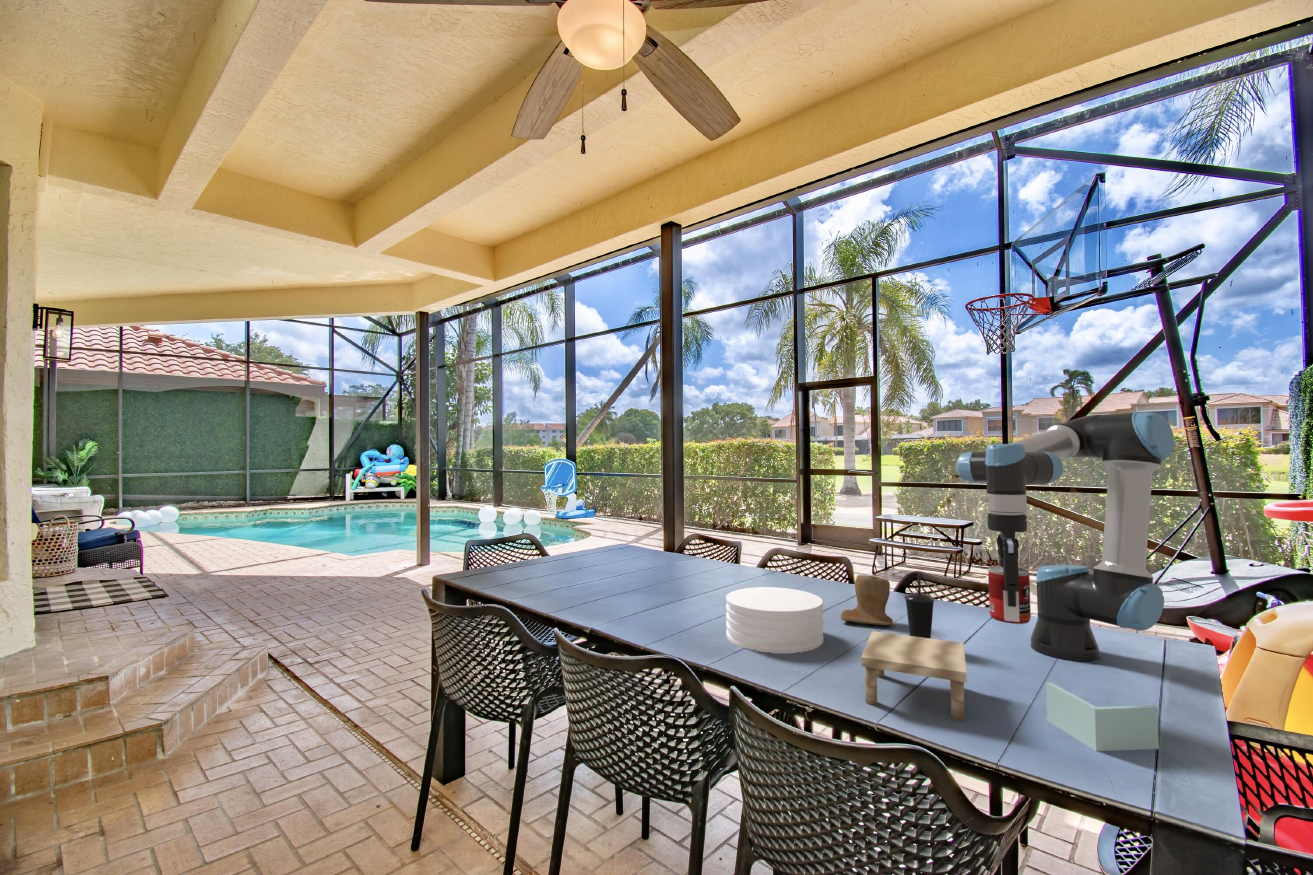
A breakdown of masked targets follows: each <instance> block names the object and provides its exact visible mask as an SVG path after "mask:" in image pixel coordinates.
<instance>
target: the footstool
mask: <svg viewBox="0 0 1313 875" xmlns="http://www.w3.org/2000/svg"><path fill="white" fill-rule="evenodd" d="M964 644H965V643H964V642H960V641H951V640H946V639H945V640H944V639H938V638H937V639H936V638H931V639H930V638H922V637H914V636H910V635H906V634H897V633H889V632H883V631H874V630H872V631H871V632H870V635H869V637H868V639H867V642H866V645H865V647H864V649H863V653H862V655H861V667H864V677H865V678H864V680H865V681H864V687H865V689H864V690H865V693H864V695H865V703H866V704H868V705H872V706H874V705H877V704H878V678H884V677H885V671H888V672H894V673H901V674H908V675H915V676H921V677H927V678H934V679H940V680H948V681H949V687H950V717H951V719H952V720H955V721H964V720H965V683H968V679H967V678H968V677H967V676H968V675H967V674H968V673H967V666H966V665H967V664H966V654H965V646H964Z"/></svg>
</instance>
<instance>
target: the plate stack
mask: <svg viewBox="0 0 1313 875" xmlns="http://www.w3.org/2000/svg"><path fill="white" fill-rule="evenodd" d="M725 602H726V604H725V611H726V613H725V619H726V622H725V625H726V626H725V628H726V631H725V636H726V638H727V640H728V641H729V642H730V643H732V644H734V645H736V646H738V647H741V648H744V649H747V650H751V651H754V650H755V651H756V652H761V653H767V652H771V653H770V654H797V652H800V653H805V652H804V651H806V652H809V650H810V651H812V650H816V649H818V648H820V647H821V646H822V645H823V644H822V643H824V618H823V616H824V610H823V607H824V601H823V599H822V598H821V597H820V596H819V595H817V594H814V593H812V592H808V591H805V590H801V589H795V588H787V587H786V588H785V587H775V586H774V587H773V586H769V587H768V586H762V587H761V586H760V587H759V586H757V587H755V586H754V587H747V588H745V587H744V588H740V589H736V590H733V591H730V592H729V593H727V594H726V596H725ZM821 644H822V645H821ZM820 645H821V646H820ZM819 646H820V647H819ZM817 647H818V648H817ZM815 648H816V649H815Z"/></svg>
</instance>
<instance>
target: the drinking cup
mask: <svg viewBox="0 0 1313 875" xmlns="http://www.w3.org/2000/svg"><path fill="white" fill-rule="evenodd" d="M921 583H922V582H921V574H917V592H912V593H909V594H905V595H904V600H905V604H906V613H907V621H908V622H907V623H908V631H909V636H914V637H922V638H930V639H932V638H931V637H932V627H933V626H932V625H933V613H934V602H935V601H936V599H935V598H934V597H933V596H930V594H926V593H923V592H922V591H921V590H922V589H921V588H922V587H921V585H922V584H921Z"/></svg>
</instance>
